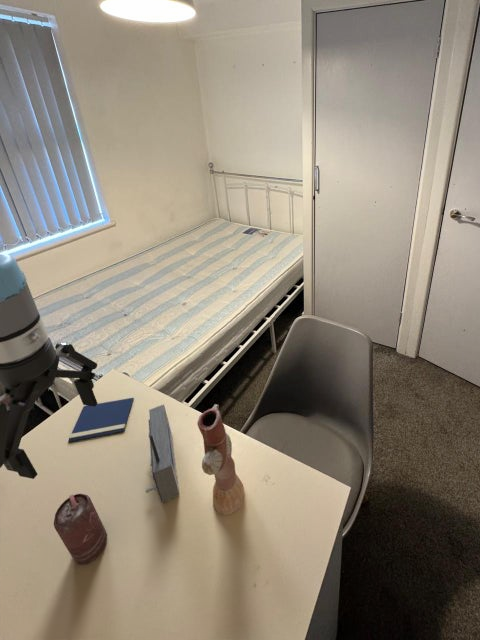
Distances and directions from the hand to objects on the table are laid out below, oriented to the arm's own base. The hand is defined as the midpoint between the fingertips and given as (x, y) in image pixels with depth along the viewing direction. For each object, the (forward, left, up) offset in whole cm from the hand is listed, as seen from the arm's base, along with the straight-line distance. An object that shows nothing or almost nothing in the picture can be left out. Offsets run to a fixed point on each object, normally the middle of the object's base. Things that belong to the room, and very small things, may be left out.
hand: (62, 436), depth 59 cm
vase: (+27, -2, -29) cm, 40 cm away
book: (-8, +27, -29) cm, 40 cm away
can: (-1, -4, -29) cm, 29 cm away
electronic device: (+11, +9, -29) cm, 32 cm away
